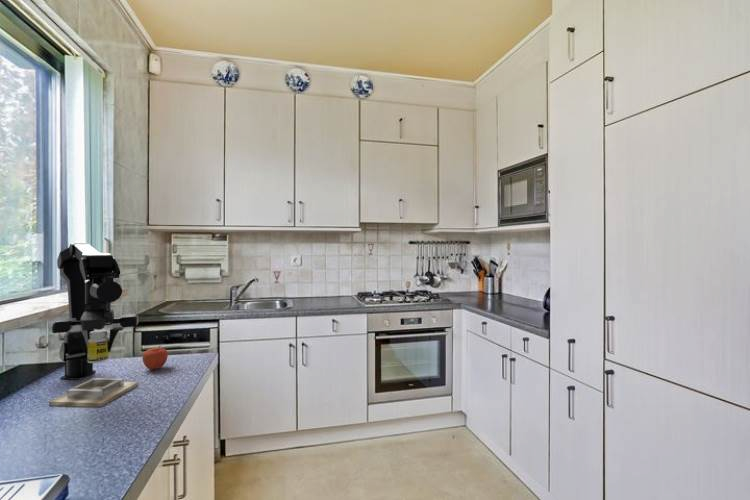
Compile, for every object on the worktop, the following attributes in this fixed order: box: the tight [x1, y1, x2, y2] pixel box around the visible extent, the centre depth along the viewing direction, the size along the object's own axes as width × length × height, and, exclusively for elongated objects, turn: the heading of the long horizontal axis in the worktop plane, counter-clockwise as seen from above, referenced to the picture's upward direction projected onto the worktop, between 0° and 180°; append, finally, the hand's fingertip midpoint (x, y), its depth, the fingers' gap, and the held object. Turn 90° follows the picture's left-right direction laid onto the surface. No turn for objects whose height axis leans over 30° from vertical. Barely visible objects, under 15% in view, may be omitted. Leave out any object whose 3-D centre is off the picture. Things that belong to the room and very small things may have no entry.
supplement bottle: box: [87, 329, 110, 364], centre depth 101 cm, size 5×5×8 cm
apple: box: [142, 345, 169, 371], centre depth 121 cm, size 7×7×8 cm
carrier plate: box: [48, 377, 139, 408], centre depth 101 cm, size 14×14×3 cm
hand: (98, 352), depth 101 cm, fingers closed on supplement bottle, 5 cm apart
